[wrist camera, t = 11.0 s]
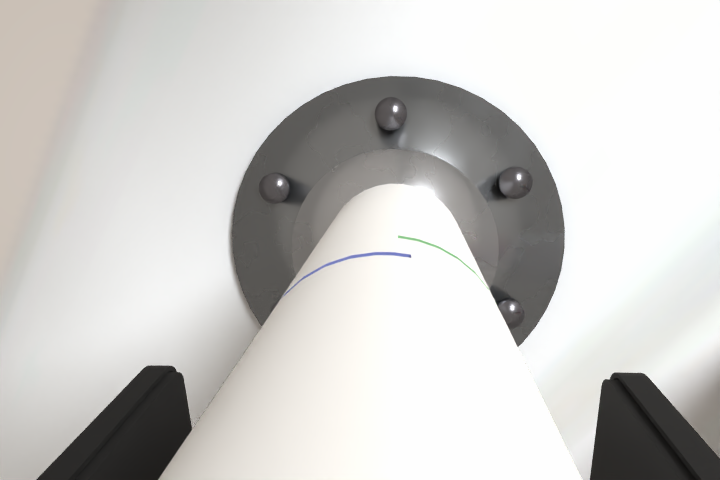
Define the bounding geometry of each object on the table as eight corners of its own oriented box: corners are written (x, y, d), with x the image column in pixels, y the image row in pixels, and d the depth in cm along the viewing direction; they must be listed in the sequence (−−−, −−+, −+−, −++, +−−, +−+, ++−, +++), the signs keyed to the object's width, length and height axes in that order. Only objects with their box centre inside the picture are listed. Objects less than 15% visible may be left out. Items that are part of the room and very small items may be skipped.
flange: (219, 84, 25) (210, 83, 24) (574, 69, 23) (583, 66, 22) (251, 387, 29) (245, 398, 28) (548, 392, 28) (555, 404, 27)
